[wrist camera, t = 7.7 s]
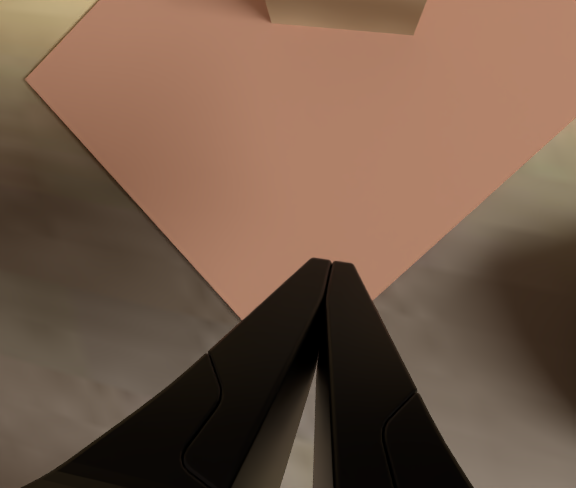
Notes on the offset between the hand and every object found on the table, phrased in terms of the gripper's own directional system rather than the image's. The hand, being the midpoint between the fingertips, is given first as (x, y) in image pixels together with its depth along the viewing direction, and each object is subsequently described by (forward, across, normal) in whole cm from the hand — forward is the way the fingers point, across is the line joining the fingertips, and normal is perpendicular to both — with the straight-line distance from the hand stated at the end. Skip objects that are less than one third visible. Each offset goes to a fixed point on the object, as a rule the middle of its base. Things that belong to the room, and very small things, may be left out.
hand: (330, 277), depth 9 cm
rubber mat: (+13, +2, -1) cm, 13 cm away
